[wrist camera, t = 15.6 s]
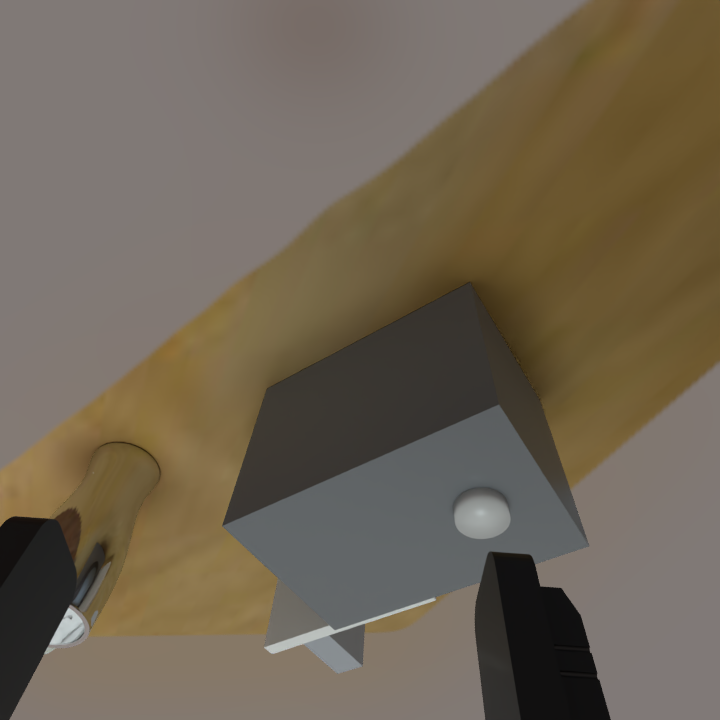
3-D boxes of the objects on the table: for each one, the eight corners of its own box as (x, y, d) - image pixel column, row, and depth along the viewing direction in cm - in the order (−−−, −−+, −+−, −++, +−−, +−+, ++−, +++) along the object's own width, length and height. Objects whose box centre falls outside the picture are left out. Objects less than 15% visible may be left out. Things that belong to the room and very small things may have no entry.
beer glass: (172, 453, 51) (98, 608, 38) (157, 503, 54) (84, 660, 42) (93, 427, 50) (-10, 577, 37) (82, 480, 53) (-15, 634, 41)
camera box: (469, 281, 40) (502, 417, 28) (541, 403, 46) (595, 562, 33) (239, 403, 47) (182, 554, 35) (325, 495, 52) (301, 656, 40)
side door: (422, 474, 48) (428, 592, 38) (462, 525, 51) (476, 645, 41) (287, 530, 52) (263, 647, 43) (331, 574, 55) (317, 691, 46)
